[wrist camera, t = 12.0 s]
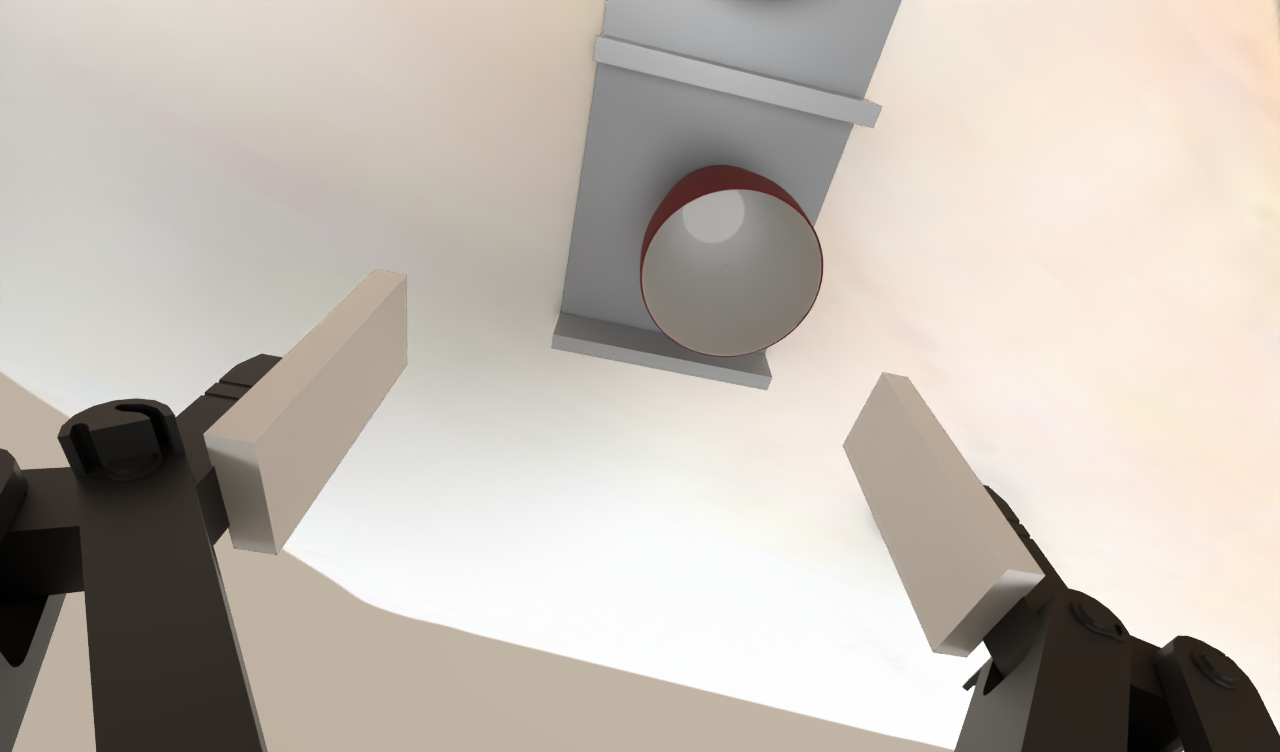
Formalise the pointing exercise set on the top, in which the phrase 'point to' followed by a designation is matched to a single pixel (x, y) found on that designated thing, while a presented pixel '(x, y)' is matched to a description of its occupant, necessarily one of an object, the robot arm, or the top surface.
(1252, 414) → the top surface
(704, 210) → the red cup
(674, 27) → the rack
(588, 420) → the top surface
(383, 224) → the top surface
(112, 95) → the top surface
